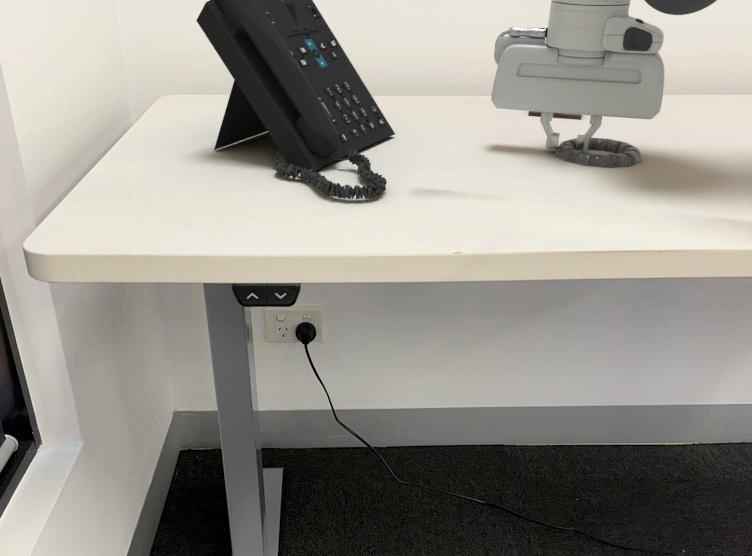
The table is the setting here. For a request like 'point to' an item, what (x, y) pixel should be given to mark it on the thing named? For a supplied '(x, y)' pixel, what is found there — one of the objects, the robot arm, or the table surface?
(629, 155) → the ring
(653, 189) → the table surface
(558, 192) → the table surface
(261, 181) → the table surface
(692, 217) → the table surface
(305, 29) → the office phone
